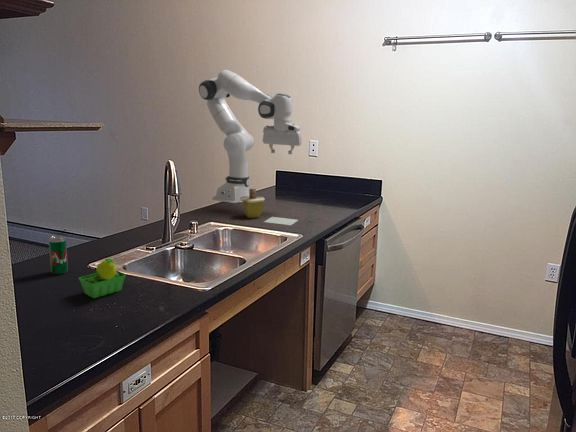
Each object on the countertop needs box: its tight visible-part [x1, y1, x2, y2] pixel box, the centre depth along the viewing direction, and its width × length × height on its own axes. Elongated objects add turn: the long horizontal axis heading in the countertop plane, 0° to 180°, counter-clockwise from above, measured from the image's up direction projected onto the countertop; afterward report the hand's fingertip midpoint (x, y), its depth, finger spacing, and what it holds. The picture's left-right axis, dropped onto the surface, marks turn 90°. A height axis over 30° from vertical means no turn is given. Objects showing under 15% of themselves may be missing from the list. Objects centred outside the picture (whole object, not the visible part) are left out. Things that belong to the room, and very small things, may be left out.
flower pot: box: [242, 201, 265, 219], centre depth 244 cm, size 9×9×9 cm
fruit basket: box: [78, 257, 126, 299], centre depth 144 cm, size 11×9×11 cm
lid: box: [240, 188, 266, 203], centre depth 242 cm, size 12×12×6 cm
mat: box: [263, 216, 299, 226], centre depth 238 cm, size 14×12×1 cm
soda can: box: [48, 235, 69, 276], centre depth 158 cm, size 5×5×12 cm
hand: (281, 153), depth 252 cm, fingers open, 8 cm apart
